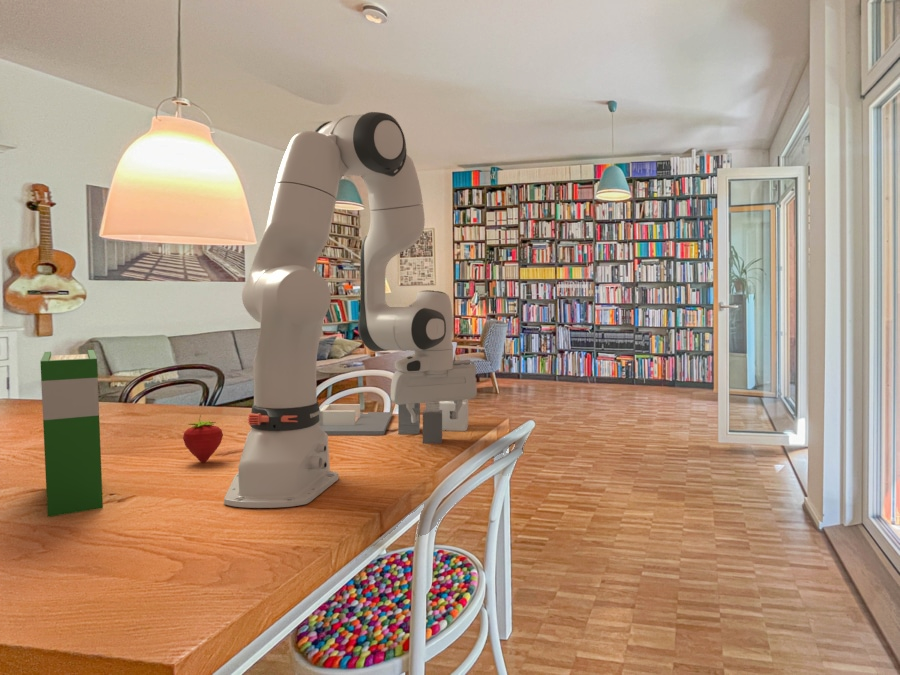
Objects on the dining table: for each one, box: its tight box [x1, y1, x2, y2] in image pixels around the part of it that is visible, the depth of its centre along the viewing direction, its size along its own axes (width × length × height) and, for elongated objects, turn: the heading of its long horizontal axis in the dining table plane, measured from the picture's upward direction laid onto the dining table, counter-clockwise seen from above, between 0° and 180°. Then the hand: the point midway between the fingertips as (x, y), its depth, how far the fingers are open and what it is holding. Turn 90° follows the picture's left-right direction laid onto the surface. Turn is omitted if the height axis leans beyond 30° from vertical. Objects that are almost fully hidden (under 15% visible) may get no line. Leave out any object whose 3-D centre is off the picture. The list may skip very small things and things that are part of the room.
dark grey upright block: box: [397, 403, 421, 435], centre depth 153 cm, size 6×5×9 cm
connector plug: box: [422, 402, 443, 445], centre depth 143 cm, size 4×4×9 cm
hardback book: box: [39, 349, 104, 517], centre depth 103 cm, size 18×7×24 cm, turn 31°
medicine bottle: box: [440, 399, 469, 432], centre depth 157 cm, size 7×7×12 cm
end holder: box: [318, 403, 393, 436], centre depth 161 cm, size 24×24×4 cm
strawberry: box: [182, 414, 224, 463], centre depth 125 cm, size 6×8×10 cm
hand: (434, 420), depth 143 cm, fingers open, 8 cm apart
